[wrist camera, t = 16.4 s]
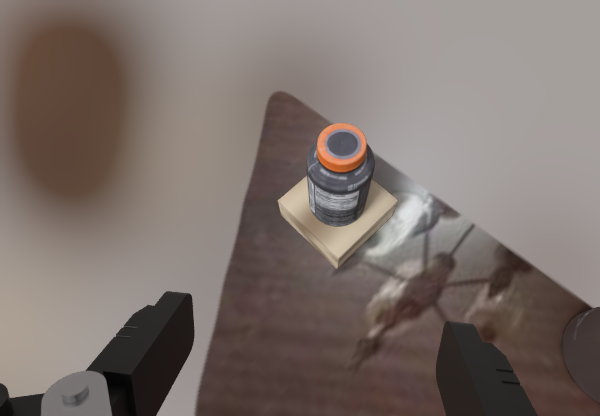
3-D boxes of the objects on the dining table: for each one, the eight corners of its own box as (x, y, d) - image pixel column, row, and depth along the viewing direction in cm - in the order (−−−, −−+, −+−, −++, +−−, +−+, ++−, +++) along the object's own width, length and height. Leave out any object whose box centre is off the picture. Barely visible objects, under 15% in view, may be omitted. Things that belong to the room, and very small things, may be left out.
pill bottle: (336, 167, 43) (341, 99, 33) (376, 202, 41) (396, 141, 31) (297, 202, 42) (290, 142, 31) (337, 239, 40) (343, 188, 29)
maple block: (392, 215, 45) (398, 200, 41) (337, 269, 42) (338, 258, 39) (335, 167, 48) (336, 149, 44) (281, 215, 45) (278, 200, 42)
